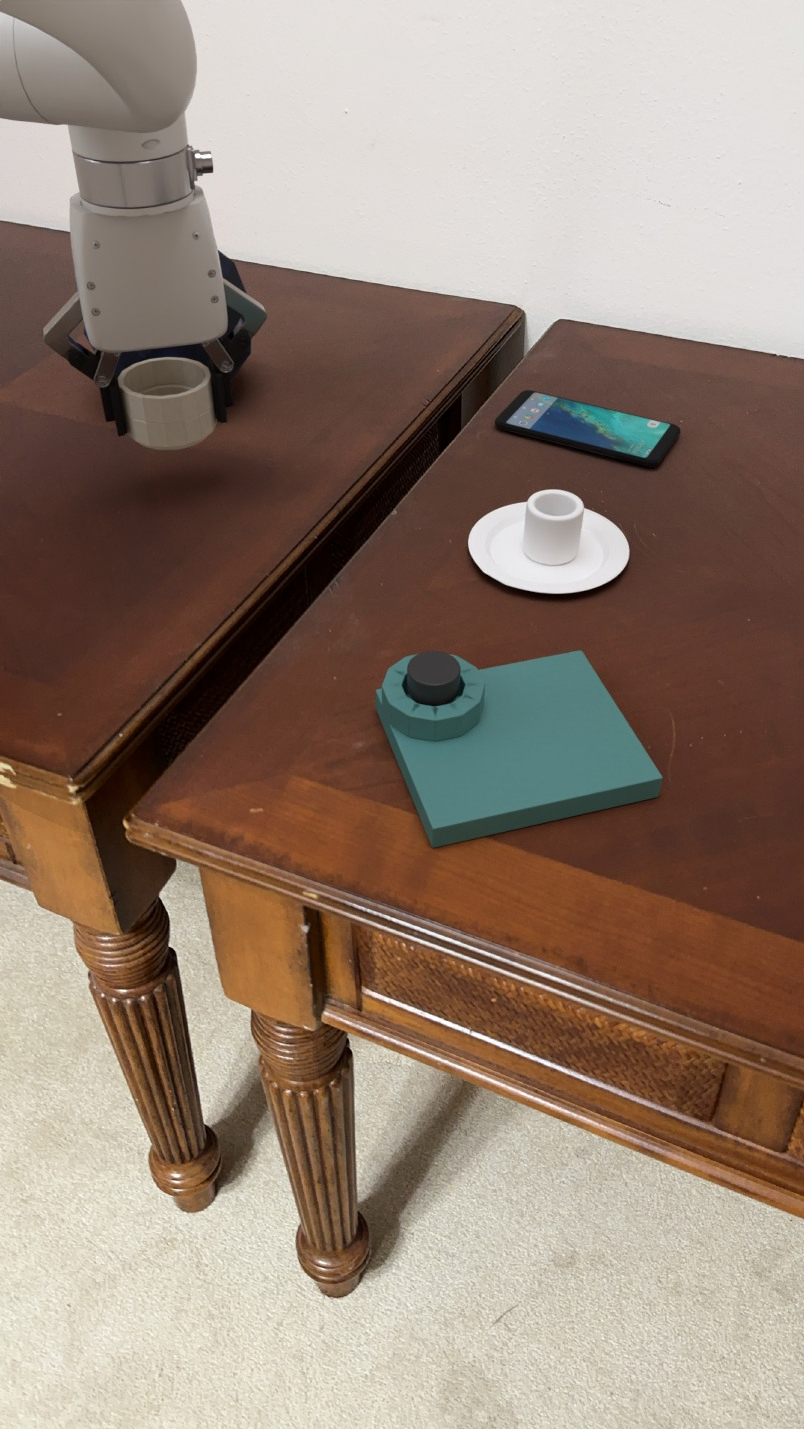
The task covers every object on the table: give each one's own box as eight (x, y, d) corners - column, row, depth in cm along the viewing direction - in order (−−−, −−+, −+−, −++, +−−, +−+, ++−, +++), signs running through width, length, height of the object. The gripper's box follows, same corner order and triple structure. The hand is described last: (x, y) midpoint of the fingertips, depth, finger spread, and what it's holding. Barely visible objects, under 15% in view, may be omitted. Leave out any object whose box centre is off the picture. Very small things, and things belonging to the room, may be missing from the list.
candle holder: (478, 605, 78) (482, 555, 75) (458, 512, 87) (461, 464, 84) (644, 597, 79) (654, 547, 76) (608, 505, 88) (616, 457, 85)
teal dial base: (431, 849, 62) (432, 807, 60) (372, 703, 71) (371, 662, 68) (658, 797, 65) (668, 755, 62) (575, 663, 74) (581, 622, 71)
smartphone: (524, 387, 100) (683, 425, 95) (523, 395, 101) (682, 433, 96) (491, 421, 96) (657, 463, 91) (490, 429, 96) (655, 471, 91)
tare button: (415, 711, 66) (416, 689, 64) (400, 677, 68) (400, 655, 67) (466, 701, 66) (467, 679, 65) (450, 667, 68) (451, 646, 67)
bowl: (132, 458, 83) (122, 403, 80) (123, 416, 87) (113, 362, 84) (223, 446, 84) (217, 391, 81) (209, 405, 89) (203, 352, 86)
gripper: (253, 149, 78) (271, 386, 90) (-2, 169, 74) (52, 413, 86) (274, 182, 72) (291, 429, 84) (0, 205, 69) (58, 460, 81)
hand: (170, 419), depth 85 cm, fingers closed on bowl, 7 cm apart
